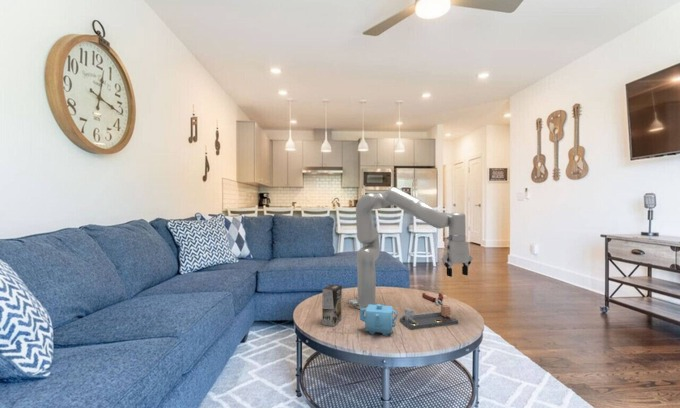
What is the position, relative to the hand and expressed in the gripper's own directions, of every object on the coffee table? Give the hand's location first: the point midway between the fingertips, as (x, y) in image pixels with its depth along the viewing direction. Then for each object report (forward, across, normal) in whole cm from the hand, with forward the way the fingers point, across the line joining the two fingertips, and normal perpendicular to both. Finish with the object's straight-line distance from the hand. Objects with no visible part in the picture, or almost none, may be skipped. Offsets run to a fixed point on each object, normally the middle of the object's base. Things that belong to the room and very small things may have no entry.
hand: (457, 275), depth 148 cm
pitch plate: (+20, -17, -2) cm, 26 cm away
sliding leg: (+18, -7, -2) cm, 20 cm away
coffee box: (+20, -59, +12) cm, 63 cm away
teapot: (+20, -43, -4) cm, 47 cm away
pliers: (+21, +4, +27) cm, 35 cm away
